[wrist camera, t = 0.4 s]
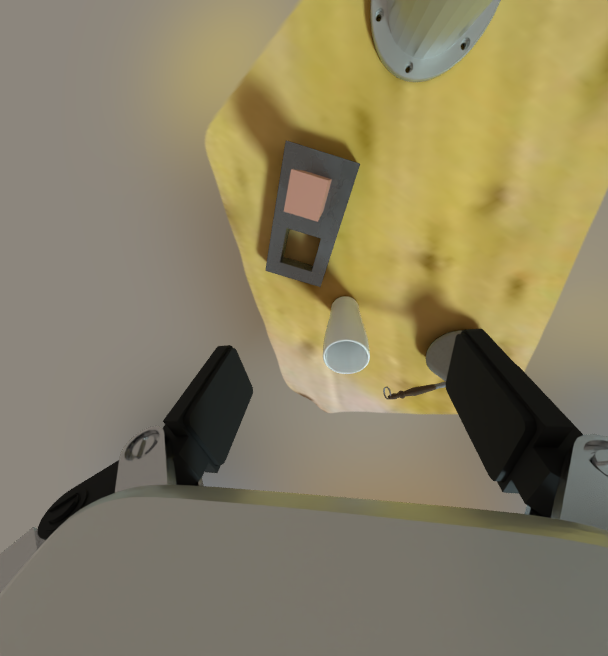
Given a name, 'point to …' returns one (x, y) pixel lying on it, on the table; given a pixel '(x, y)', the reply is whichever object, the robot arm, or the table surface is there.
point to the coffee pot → (433, 365)
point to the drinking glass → (345, 338)
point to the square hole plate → (325, 228)
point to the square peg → (306, 194)
